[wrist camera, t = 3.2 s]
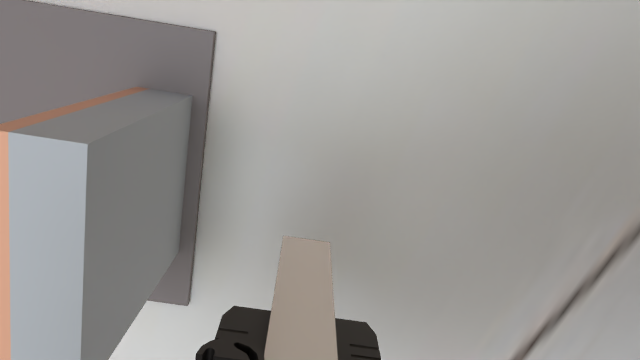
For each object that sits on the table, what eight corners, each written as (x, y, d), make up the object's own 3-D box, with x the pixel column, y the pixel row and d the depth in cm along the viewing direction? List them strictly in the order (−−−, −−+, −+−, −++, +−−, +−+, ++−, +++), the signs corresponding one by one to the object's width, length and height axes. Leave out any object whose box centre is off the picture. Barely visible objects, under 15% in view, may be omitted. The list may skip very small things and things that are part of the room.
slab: (192, 95, 23) (87, 143, 13) (178, 252, 26) (79, 403, 15) (136, 86, 23) (-16, 128, 13) (127, 244, 25) (-10, 392, 15)
